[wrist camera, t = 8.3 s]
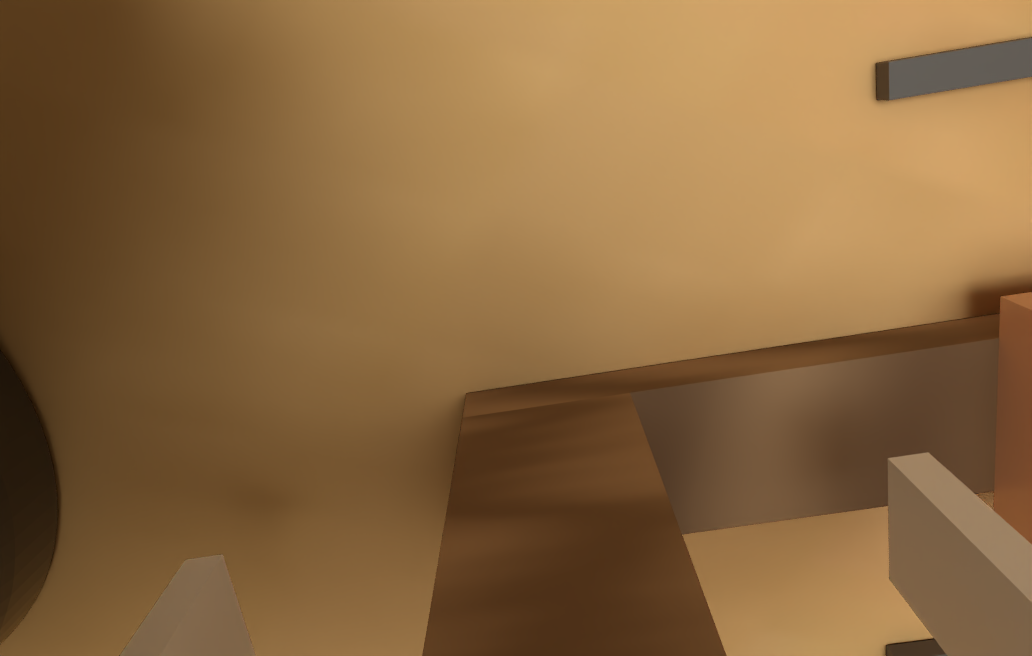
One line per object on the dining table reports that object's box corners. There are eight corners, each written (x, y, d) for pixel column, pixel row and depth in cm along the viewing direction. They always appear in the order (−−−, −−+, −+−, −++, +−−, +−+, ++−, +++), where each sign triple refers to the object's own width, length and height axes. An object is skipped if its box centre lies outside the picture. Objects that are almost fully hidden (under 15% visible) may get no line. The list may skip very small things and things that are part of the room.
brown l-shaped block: (492, 527, 21) (464, 1027, 10) (466, 393, 19) (399, 789, 8) (1255, 420, 20) (2187, 843, 9) (1276, 272, 18) (2392, 543, 7)
